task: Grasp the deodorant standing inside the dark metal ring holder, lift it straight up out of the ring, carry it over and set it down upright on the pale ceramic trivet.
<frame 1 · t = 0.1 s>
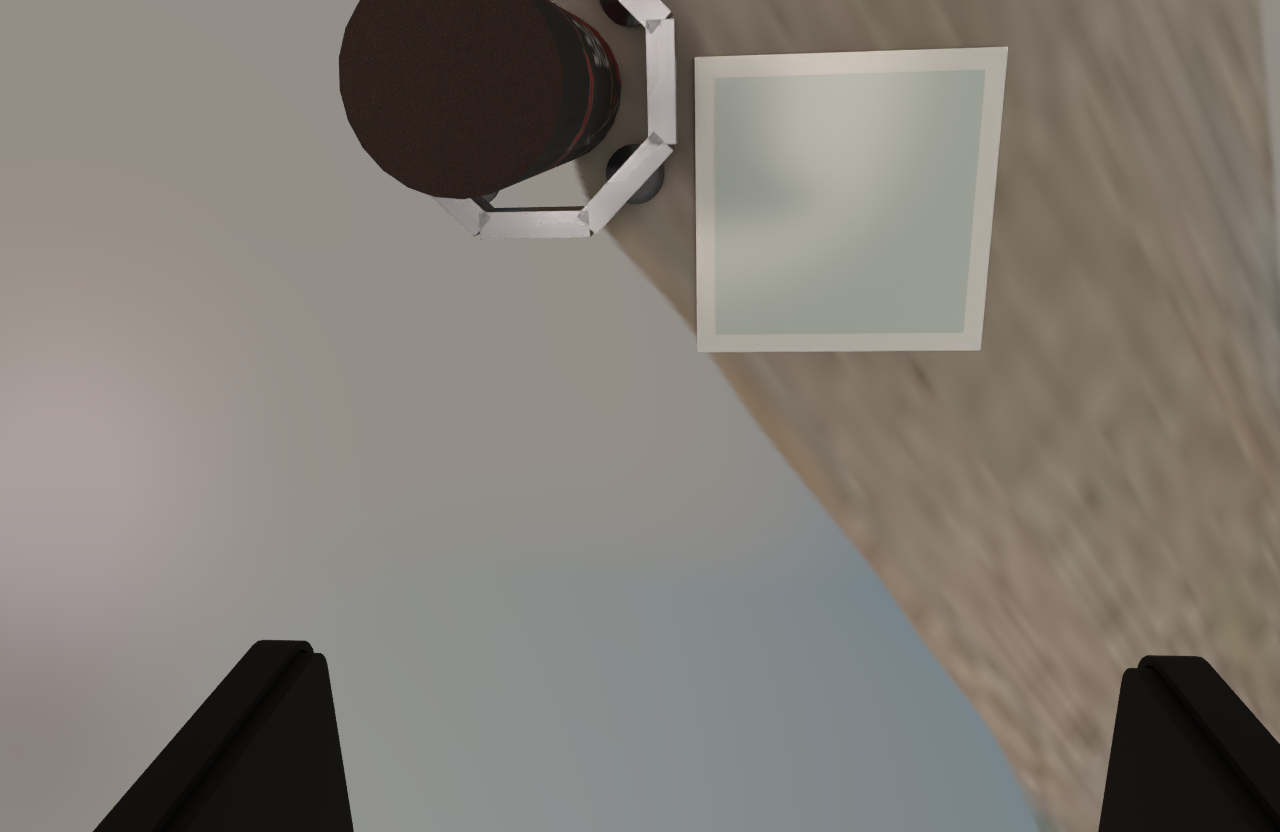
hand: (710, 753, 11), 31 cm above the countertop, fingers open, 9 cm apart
ring stand: (549, 88, 38), on the countertop
deodorant: (550, 88, 39), on the countertop
trivet: (840, 207, 39), on the countertop
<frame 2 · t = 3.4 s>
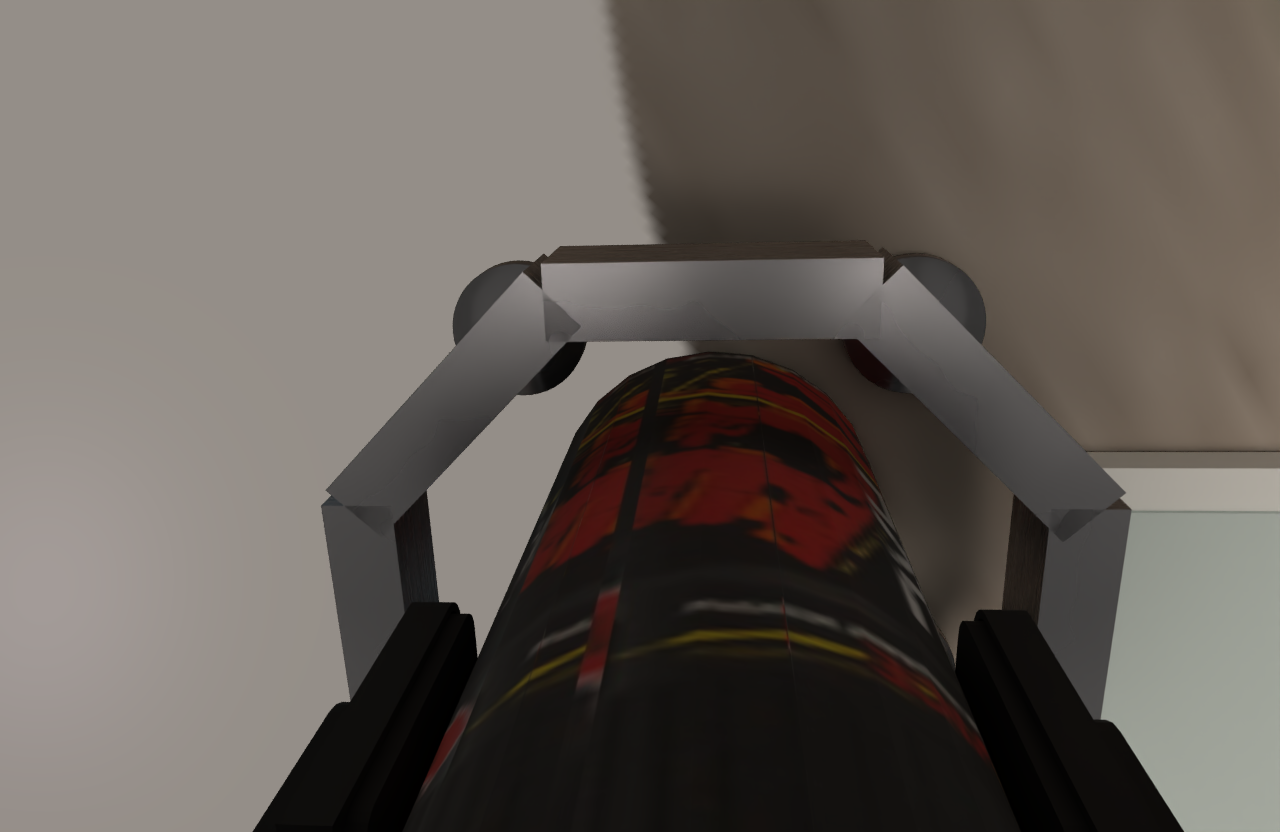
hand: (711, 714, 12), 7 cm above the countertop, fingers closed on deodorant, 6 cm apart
ring stand: (714, 501, 18), on the countertop
deodorant: (714, 497, 18), on the countertop, touching gripper
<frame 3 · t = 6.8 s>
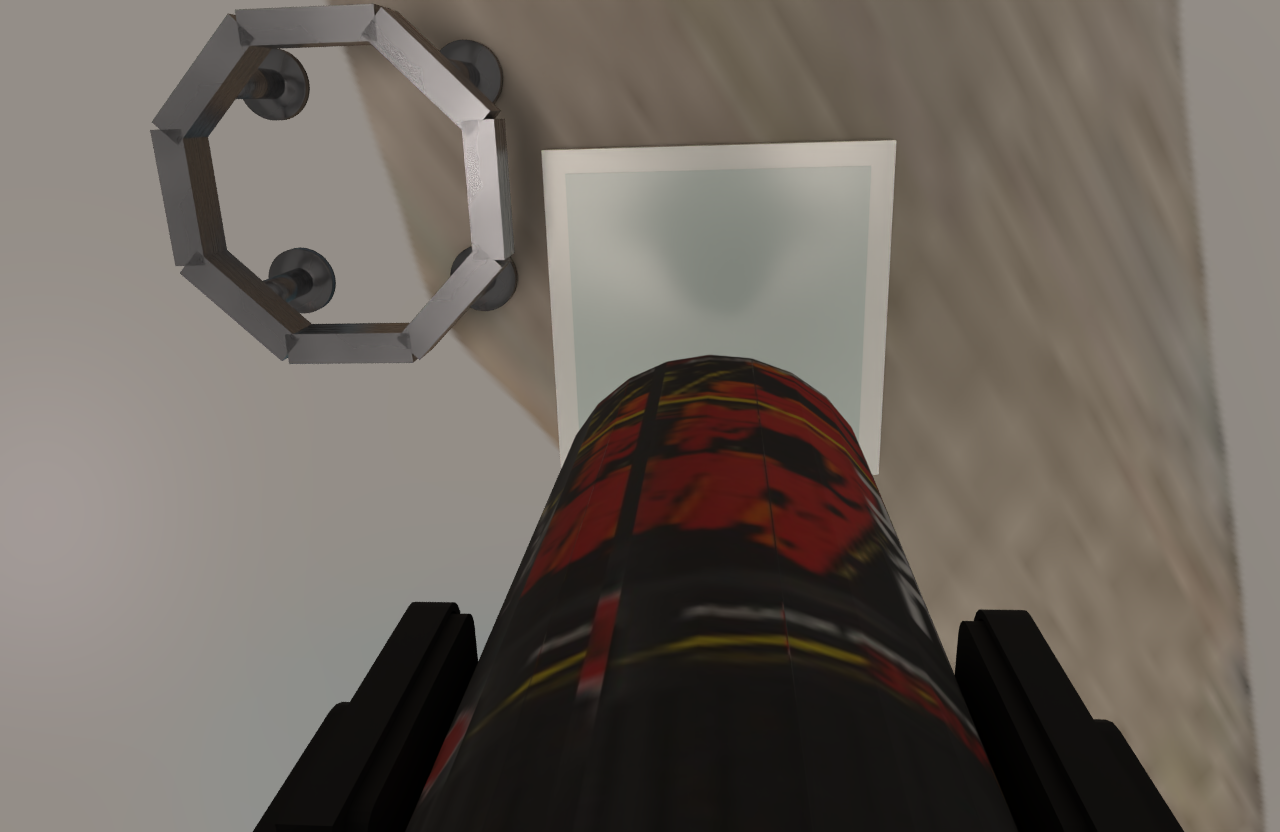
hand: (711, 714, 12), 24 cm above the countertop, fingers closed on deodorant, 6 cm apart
ring stand: (383, 182, 34), on the countertop
deodorant: (714, 500, 18), point 17 cm above the countertop, touching gripper
trivet: (716, 314, 34), on the countertop
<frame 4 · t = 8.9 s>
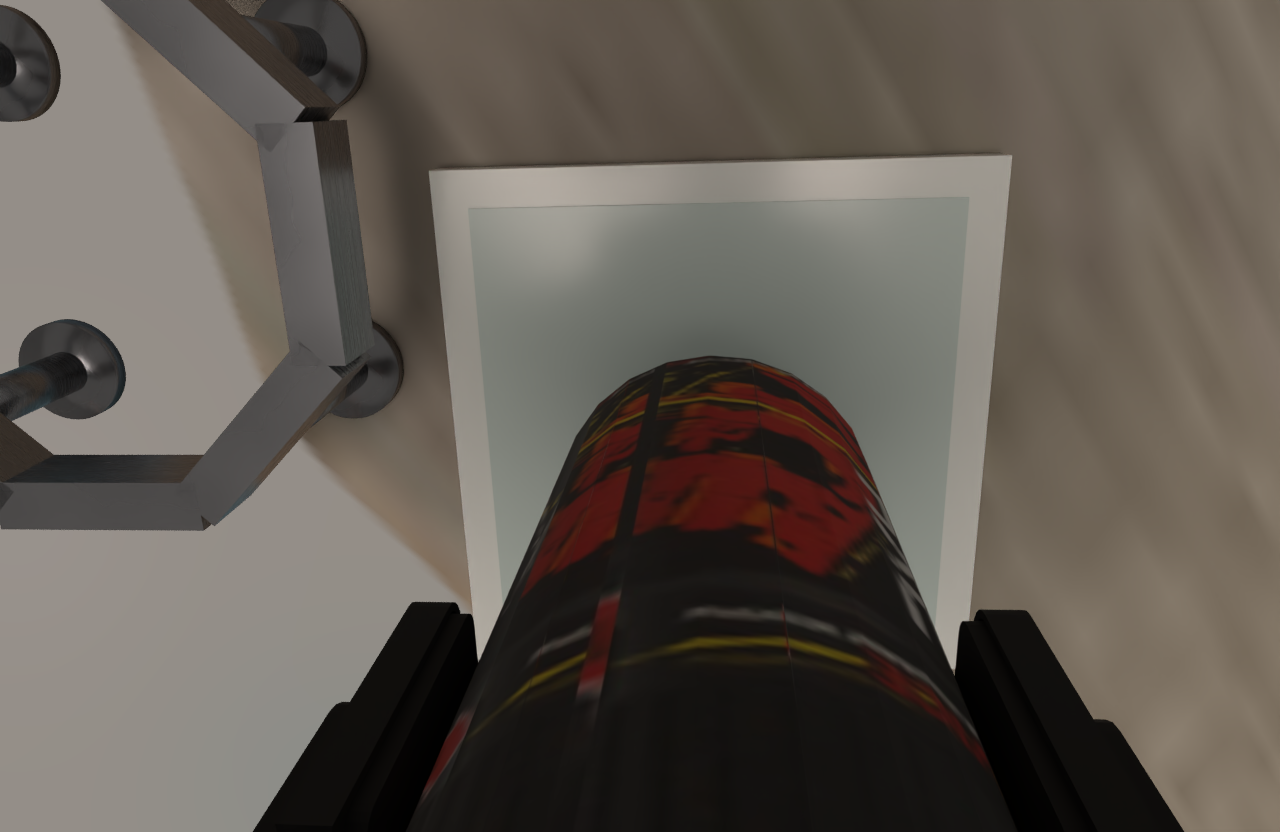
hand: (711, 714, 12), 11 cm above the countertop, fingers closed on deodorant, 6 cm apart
ring stand: (187, 220, 21), on the countertop
deodorant: (714, 500, 18), point 4 cm above the countertop, touching gripper
trivet: (714, 424, 22), on the countertop
when the fingers open (8 cm above the countertop, at t = 10.4 s): deodorant stays where it is, resting on trivet.
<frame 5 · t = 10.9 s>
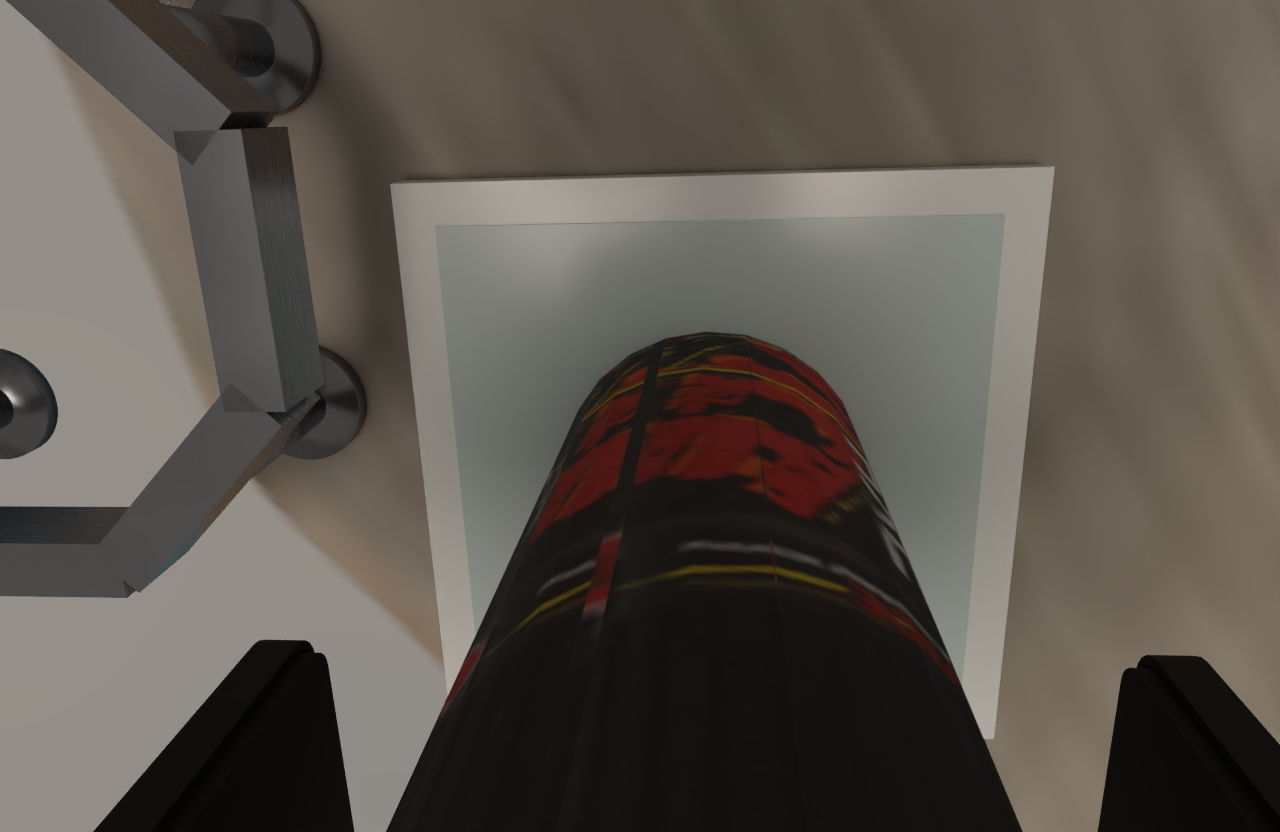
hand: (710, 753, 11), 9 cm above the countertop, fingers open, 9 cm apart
ring stand: (122, 238, 19), on the countertop
deodorant: (711, 472, 19), point 1 cm above the countertop, touching trivet
trivet: (714, 467, 20), on the countertop
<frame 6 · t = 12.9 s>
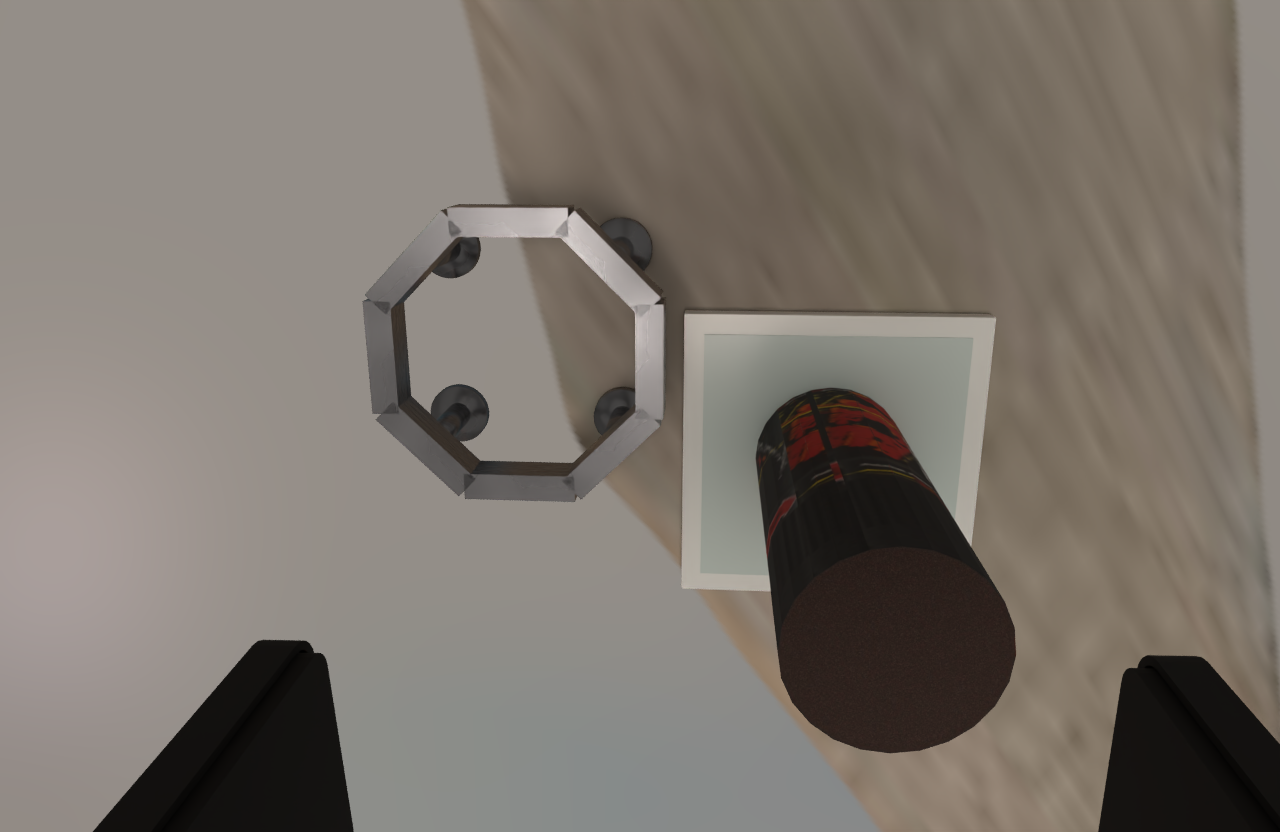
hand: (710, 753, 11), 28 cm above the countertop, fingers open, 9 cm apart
ring stand: (539, 332, 38), on the countertop
deodorant: (828, 456, 38), point 1 cm above the countertop, touching trivet
trivet: (827, 454, 39), on the countertop
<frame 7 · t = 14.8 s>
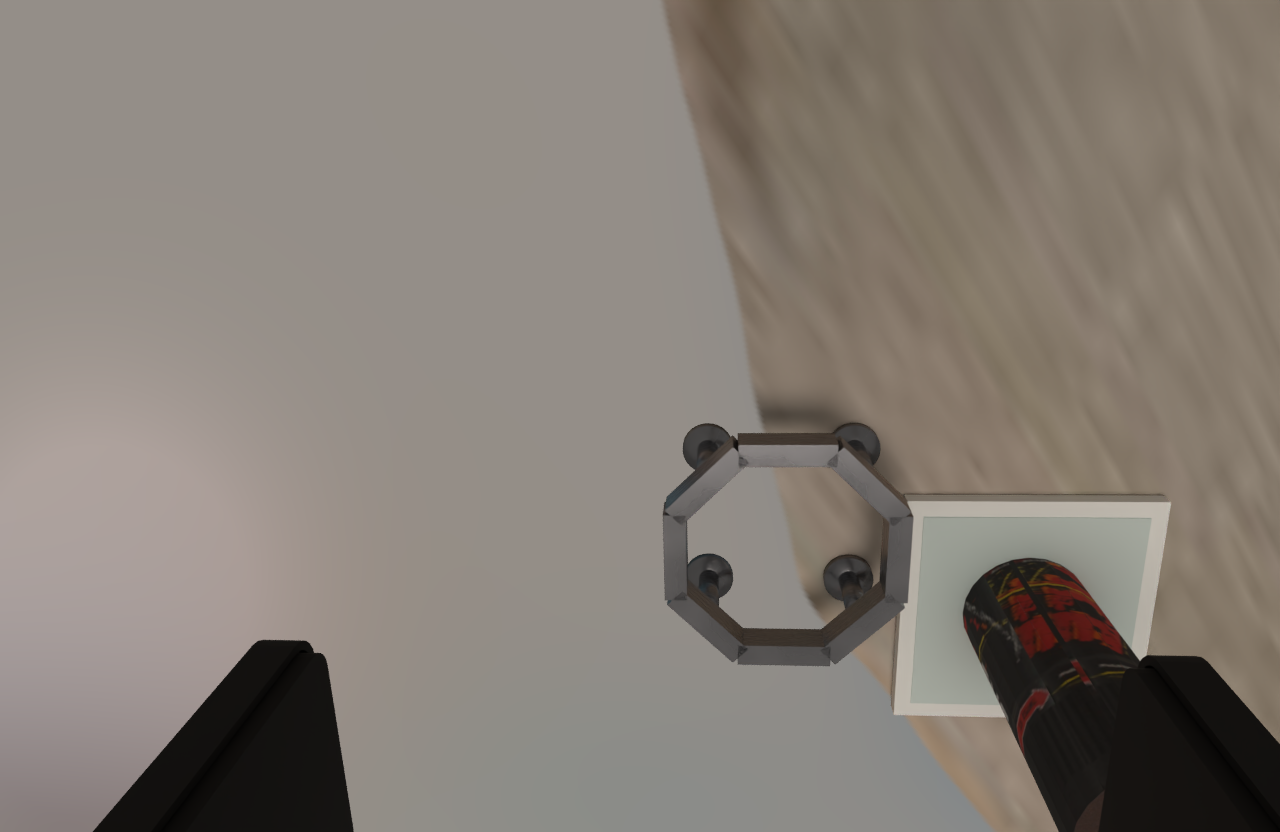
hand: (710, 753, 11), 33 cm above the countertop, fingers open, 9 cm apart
ring stand: (778, 512, 46), on the countertop
deodorant: (1023, 610, 46), point 1 cm above the countertop, touching trivet
trivet: (1020, 605, 47), on the countertop
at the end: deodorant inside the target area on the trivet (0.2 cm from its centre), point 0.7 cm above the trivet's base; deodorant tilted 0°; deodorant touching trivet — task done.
